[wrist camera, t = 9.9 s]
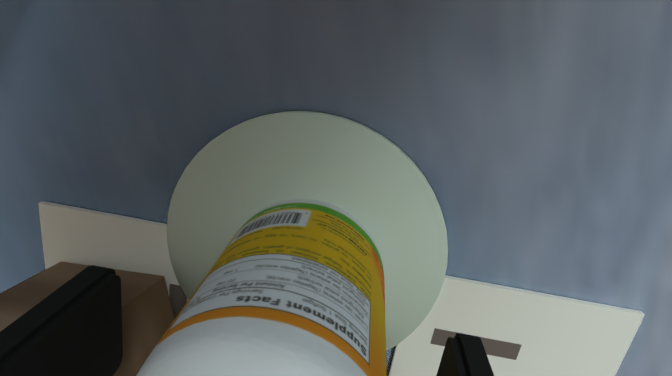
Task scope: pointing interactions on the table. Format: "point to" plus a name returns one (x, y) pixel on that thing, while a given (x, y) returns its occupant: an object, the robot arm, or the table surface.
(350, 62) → the table surface
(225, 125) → the table surface
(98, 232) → the code tile
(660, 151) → the table surface
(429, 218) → the felt coaster
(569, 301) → the code tile
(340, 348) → the supplement bottle
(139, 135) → the table surface
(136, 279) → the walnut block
